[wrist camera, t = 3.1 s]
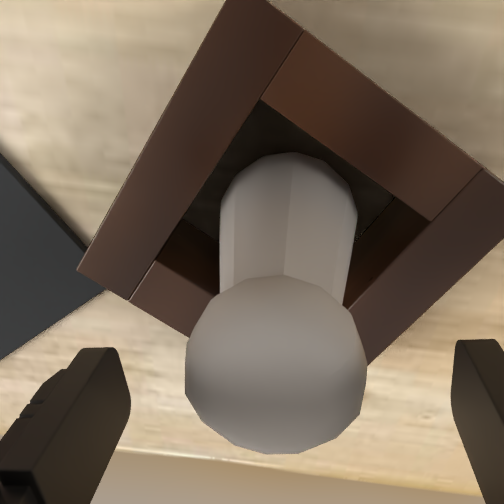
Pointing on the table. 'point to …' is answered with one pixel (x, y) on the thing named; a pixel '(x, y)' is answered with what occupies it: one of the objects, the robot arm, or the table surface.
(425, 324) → the table surface
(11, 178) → the mat
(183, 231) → the holder
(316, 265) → the salt shaker
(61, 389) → the robot arm
